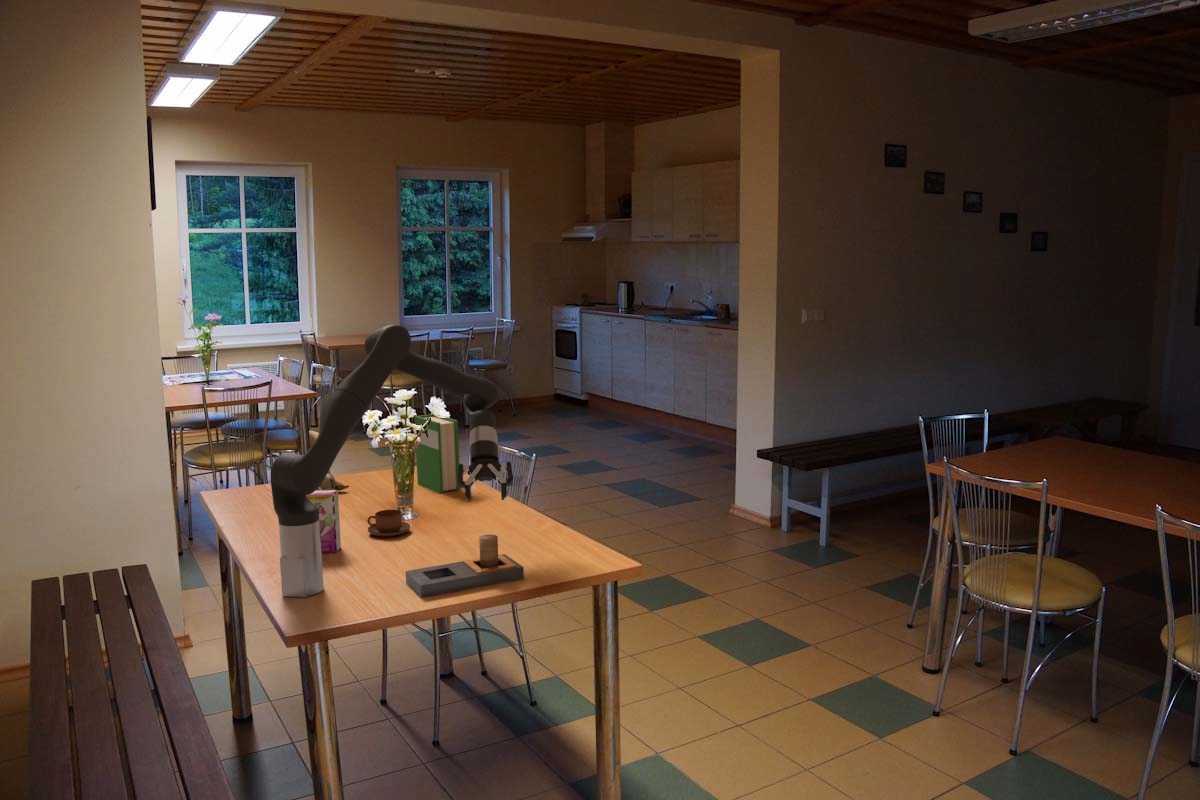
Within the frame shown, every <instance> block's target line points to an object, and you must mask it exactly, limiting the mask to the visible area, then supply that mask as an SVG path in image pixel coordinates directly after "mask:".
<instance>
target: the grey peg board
mask: <svg viewBox="0 0 1200 800" xmlns="http://www.w3.org/2000/svg"><path fill="white" fill-rule="evenodd" d="M498 562H499V566H496V567H490V568H485V569H481V568H480V557H477V558H472V559H466V560H461V561H455V562H451V563H445V564H440V565H434V566H433V565H432V566H427V567H420V568H416V569H415V568H414V569H409V570H405V583H406V585H408V586H409V588H410V589H412V590H413V591H414V593H416V594H417V595H418V596H419V597H420V598H421V599H423V598H428V597H433V596H440V595H444V594H449V593H454V592H455V593H456V592H460V591H465V590H466V591H467V590H471V589H476V588H482V587H486V586H493V585H497V584H504V583H507V582H514V581H519V580H524V578H525V571H524V565H521V564H520V563H518V562H517V561H516V560H514V559H513V558H511V557H510V556H508V555H507V554H505V553H502V554H501V553H500V554H498Z"/></svg>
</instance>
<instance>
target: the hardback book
mask: <svg viewBox="0 0 1200 800" xmlns="http://www.w3.org/2000/svg"><path fill="white" fill-rule="evenodd" d="M433 414H434V413H432V414H431V413H430V414H423V415H415V416H414V425H415V424H416V425H421V424H424V423H425V422H426V421H427V418H428V417H429V418H431V421H430V423H429V426H428V435H429V436H428V438H427V436H426V434H425V433H422V434H421V436H420V439H421V443H420V444H419V445H418V448H417V450H416V449H415V453H416V473H417V474H416V475H417V476H416V478H417V485H418V486H421V487H423V488H425V489H428V490H430V491H432V492H435V493H437V494H440V495H441V494H443V495H444V492H446V491H451V490H455V491H457V492H459V491H461V488H459V487H458V466H459V464H460V449H459V448H460V447H459V446H460V445H459V443H460V442H459V425H458V424H459V422H458V420H457V419H454V418H450V417H447V418H438V417H435V416H433ZM428 421H429V420H428Z"/></svg>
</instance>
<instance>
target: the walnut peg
mask: <svg viewBox="0 0 1200 800" xmlns="http://www.w3.org/2000/svg"><path fill="white" fill-rule="evenodd" d="M478 539H479V540H478V543H479V558H480V568H481V569H485V568H490V567H496V566H499V562H498V555H499V543H498V535H496V534H484V535H480V536H479V537H478Z"/></svg>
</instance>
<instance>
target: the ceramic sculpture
mask: <svg viewBox="0 0 1200 800" xmlns="http://www.w3.org/2000/svg"><path fill="white" fill-rule="evenodd" d="M349 487H350V485H345V484H343V483H342V482H340V481H338V480H336V479H335V477H334V475H333V474H331V473H329V472H328V473H327V475H326V477H325V479H324V481H323V482H322V484H321V485H320V487H319V488H318V489H317V490H338V492H340V491H344V490H346V489H349ZM317 490H316V491H317Z"/></svg>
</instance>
